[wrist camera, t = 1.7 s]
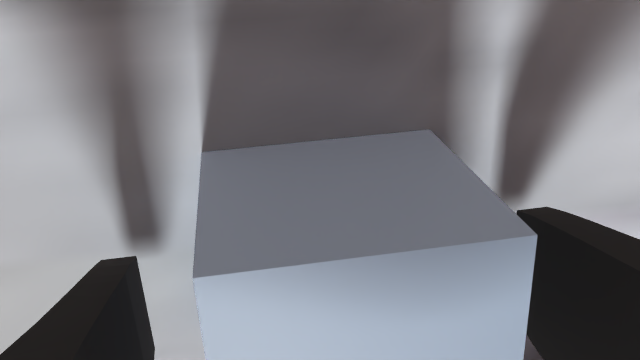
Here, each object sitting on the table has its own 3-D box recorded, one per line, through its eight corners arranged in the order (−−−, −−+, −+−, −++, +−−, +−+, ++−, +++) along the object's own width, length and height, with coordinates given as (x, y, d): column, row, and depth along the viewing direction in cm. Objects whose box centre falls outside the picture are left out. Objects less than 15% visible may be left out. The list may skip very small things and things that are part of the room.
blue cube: (428, 127, 12) (537, 234, 8) (423, 312, 14) (509, 477, 10) (201, 150, 11) (192, 278, 7) (227, 339, 13) (232, 526, 9)
